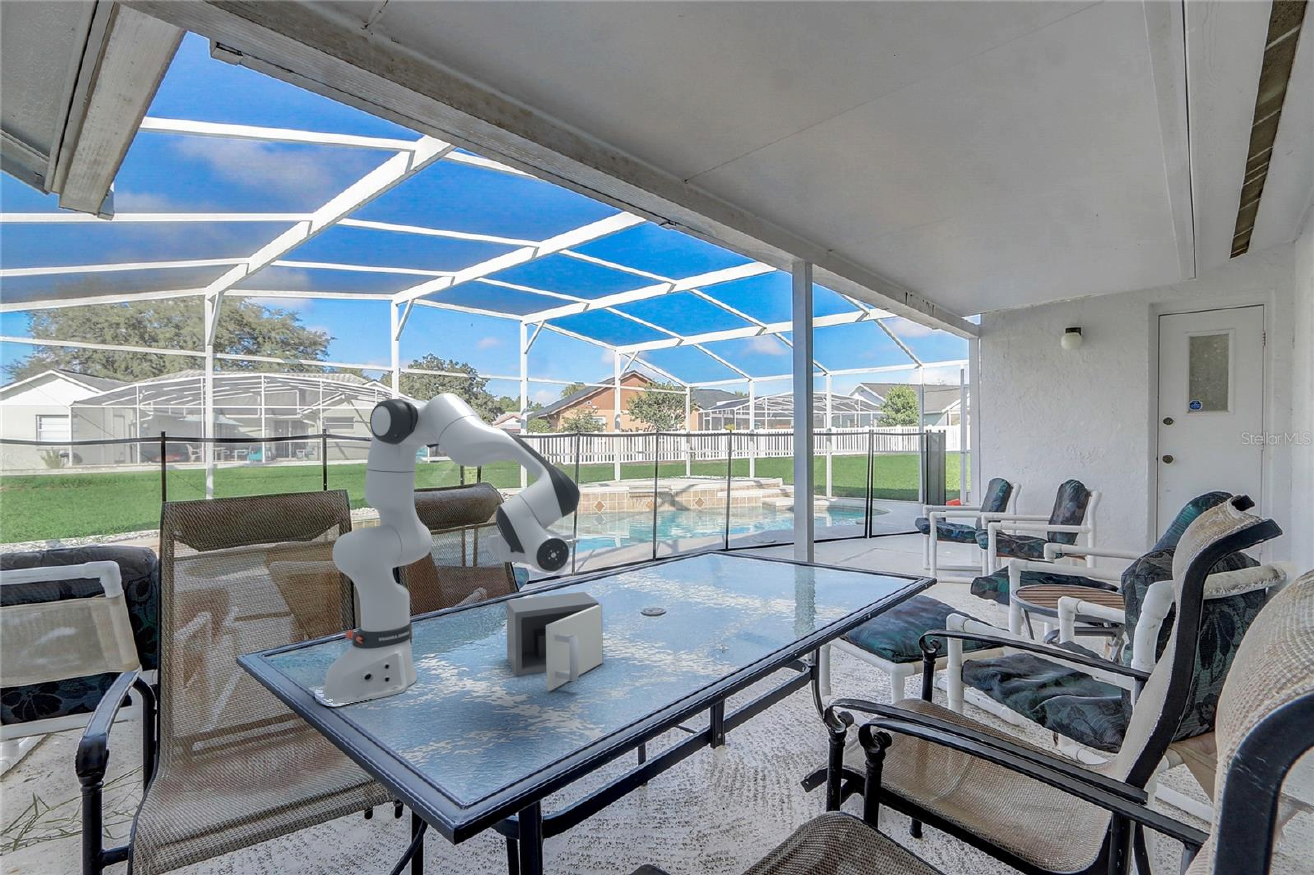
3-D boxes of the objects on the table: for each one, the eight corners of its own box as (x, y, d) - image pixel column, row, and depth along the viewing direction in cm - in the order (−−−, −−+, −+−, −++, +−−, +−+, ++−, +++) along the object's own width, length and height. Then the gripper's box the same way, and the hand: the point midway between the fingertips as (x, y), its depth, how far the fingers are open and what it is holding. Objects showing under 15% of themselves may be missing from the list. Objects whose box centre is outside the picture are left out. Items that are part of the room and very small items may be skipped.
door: (571, 695, 134) (570, 629, 135) (546, 689, 138) (545, 625, 139) (622, 665, 153) (621, 607, 154) (600, 661, 157) (599, 604, 157)
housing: (516, 676, 148) (515, 612, 149) (507, 659, 161) (506, 600, 162) (599, 663, 157) (598, 602, 157) (585, 647, 170) (584, 591, 170)
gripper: (581, 528, 139) (566, 522, 152) (492, 534, 131) (484, 527, 144) (581, 554, 139) (567, 547, 151) (492, 562, 131) (484, 553, 143)
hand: (526, 537), depth 147 cm, fingers open, 5 cm apart
